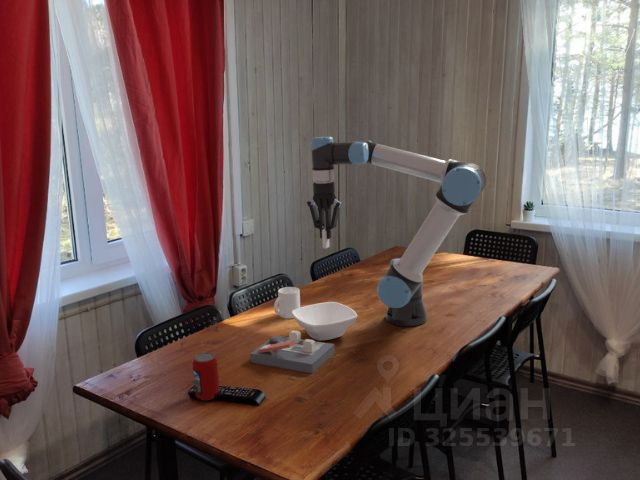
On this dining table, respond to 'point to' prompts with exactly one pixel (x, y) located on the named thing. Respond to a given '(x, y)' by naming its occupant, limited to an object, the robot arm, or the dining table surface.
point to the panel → (293, 355)
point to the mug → (287, 302)
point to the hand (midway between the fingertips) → (326, 247)
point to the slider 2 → (309, 345)
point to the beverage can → (205, 376)
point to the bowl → (325, 319)
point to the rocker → (276, 346)
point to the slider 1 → (295, 336)
